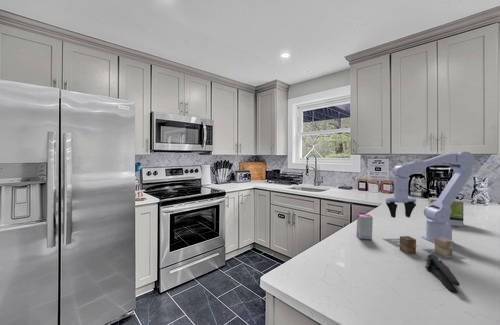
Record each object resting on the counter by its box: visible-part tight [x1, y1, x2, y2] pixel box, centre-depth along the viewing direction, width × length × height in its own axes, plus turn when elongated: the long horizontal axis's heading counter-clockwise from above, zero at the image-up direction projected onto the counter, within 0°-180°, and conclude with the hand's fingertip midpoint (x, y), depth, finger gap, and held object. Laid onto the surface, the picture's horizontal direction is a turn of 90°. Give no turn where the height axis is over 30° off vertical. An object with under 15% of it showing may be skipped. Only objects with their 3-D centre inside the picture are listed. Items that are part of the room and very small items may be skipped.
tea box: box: [428, 197, 464, 228], centre depth 137 cm, size 15×10×15 cm, turn 58°
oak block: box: [434, 238, 454, 256], centre depth 93 cm, size 4×4×6 cm
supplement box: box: [356, 213, 374, 241], centre depth 111 cm, size 6×6×12 cm
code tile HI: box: [422, 248, 466, 261], centre depth 93 cm, size 10×10×1 cm
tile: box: [382, 237, 418, 248], centre depth 105 cm, size 10×10×1 cm
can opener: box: [424, 253, 461, 294], centre depth 74 cm, size 18×7×6 cm, turn 157°
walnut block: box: [399, 235, 417, 255], centre depth 95 cm, size 4×4×6 cm
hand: (400, 217), depth 112 cm, fingers open, 7 cm apart
